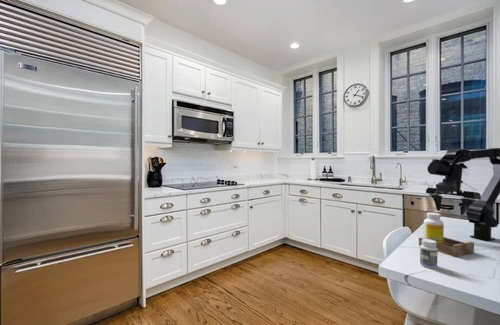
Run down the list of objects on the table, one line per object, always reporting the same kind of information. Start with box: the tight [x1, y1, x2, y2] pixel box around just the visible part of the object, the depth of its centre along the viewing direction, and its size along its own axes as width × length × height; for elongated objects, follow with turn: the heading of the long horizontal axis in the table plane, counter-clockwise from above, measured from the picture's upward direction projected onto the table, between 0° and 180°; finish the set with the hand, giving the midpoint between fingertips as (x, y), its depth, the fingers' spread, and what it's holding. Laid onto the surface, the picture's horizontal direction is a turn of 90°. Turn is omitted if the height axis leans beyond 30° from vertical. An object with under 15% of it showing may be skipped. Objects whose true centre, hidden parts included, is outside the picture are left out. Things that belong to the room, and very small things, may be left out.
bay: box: [418, 236, 475, 258], centre depth 101 cm, size 11×14×4 cm
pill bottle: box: [419, 238, 439, 269], centre depth 85 cm, size 5×5×8 cm
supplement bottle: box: [423, 212, 445, 244], centre depth 105 cm, size 7×7×13 cm
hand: (449, 212), depth 112 cm, fingers open, 9 cm apart
